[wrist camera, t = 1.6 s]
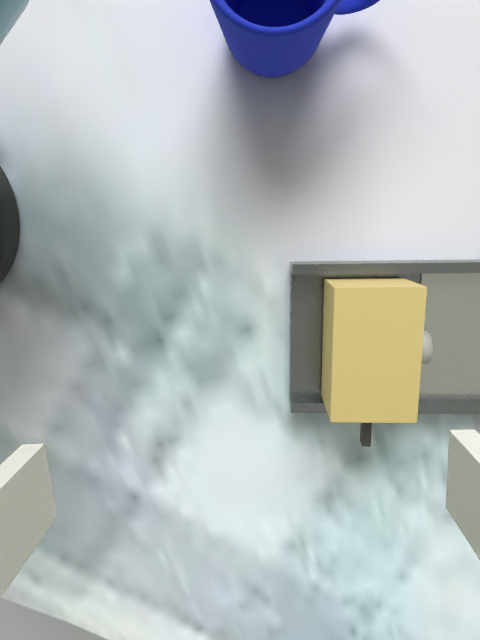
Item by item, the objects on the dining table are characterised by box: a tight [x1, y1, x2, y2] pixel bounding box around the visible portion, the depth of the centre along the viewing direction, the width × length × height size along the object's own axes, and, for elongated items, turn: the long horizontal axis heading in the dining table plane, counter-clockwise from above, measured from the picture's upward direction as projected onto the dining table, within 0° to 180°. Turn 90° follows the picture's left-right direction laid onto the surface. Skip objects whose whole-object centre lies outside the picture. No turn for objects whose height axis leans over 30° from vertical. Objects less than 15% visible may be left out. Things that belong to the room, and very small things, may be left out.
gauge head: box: [321, 278, 433, 446], centre depth 32 cm, size 7×12×5 cm, turn 1°
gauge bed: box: [290, 260, 480, 414], centre depth 34 cm, size 27×12×2 cm, turn 91°
